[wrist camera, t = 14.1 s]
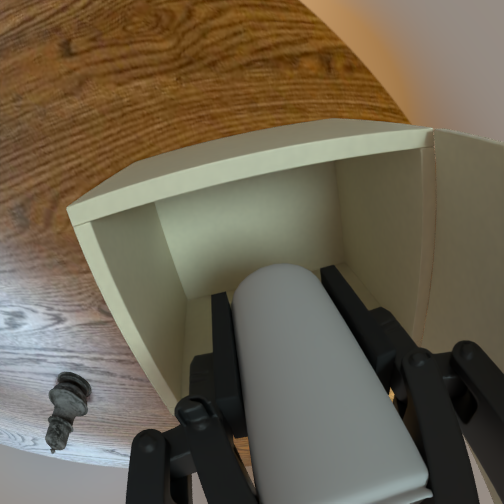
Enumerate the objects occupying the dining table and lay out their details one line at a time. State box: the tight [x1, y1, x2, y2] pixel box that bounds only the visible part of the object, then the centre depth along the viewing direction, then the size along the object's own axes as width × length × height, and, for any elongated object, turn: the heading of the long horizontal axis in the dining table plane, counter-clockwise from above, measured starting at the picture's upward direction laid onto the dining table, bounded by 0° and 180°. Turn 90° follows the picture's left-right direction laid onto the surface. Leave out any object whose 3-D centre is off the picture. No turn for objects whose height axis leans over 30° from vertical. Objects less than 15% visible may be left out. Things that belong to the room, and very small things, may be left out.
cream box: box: [66, 118, 436, 416], centre depth 22 cm, size 18×15×14 cm
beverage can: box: [231, 263, 433, 504], centre depth 10 cm, size 5×5×12 cm
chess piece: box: [45, 372, 91, 454], centre depth 29 cm, size 6×6×12 cm
